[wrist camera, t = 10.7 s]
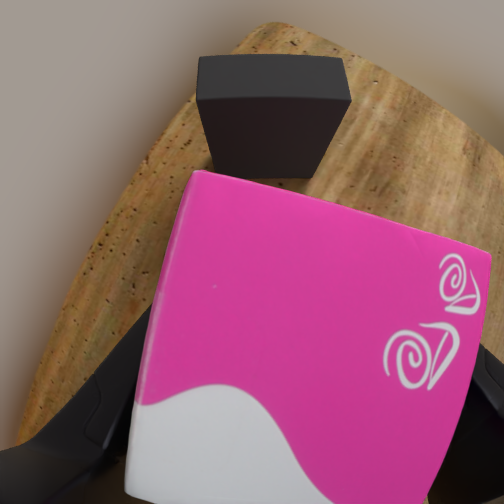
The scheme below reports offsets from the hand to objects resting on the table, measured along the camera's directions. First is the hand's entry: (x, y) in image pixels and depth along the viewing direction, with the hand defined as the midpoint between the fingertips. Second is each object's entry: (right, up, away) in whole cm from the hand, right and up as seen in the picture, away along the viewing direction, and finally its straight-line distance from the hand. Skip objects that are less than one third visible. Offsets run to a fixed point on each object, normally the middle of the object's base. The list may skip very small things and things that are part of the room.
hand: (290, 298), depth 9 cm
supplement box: (0, -2, +7) cm, 7 cm away
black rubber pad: (0, +7, +11) cm, 13 cm away
